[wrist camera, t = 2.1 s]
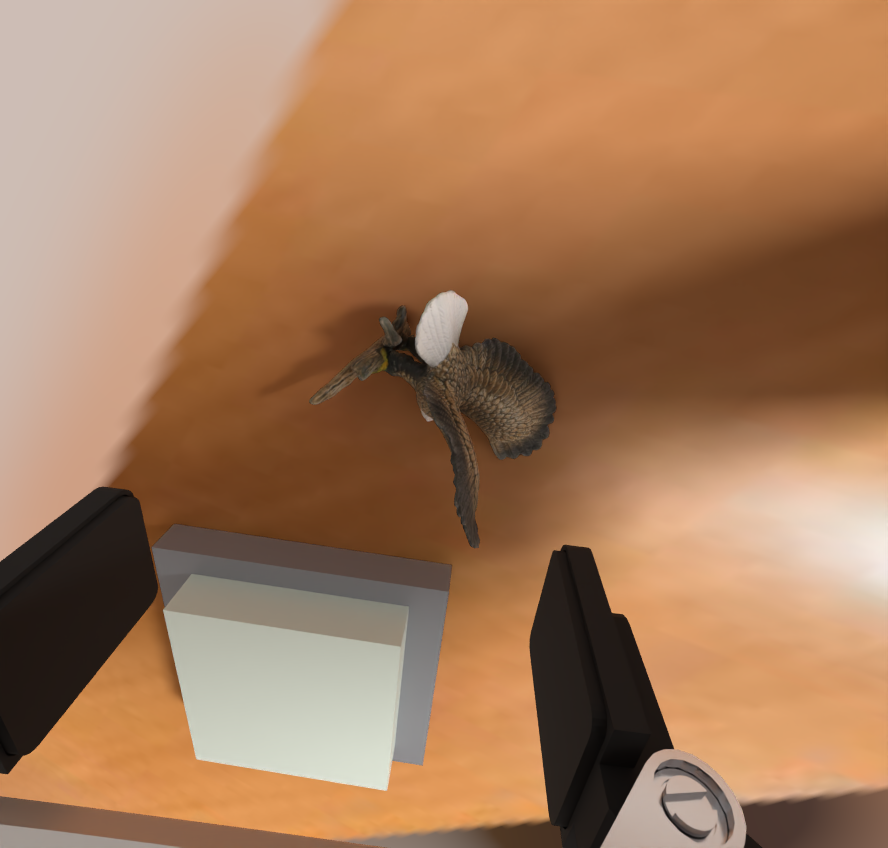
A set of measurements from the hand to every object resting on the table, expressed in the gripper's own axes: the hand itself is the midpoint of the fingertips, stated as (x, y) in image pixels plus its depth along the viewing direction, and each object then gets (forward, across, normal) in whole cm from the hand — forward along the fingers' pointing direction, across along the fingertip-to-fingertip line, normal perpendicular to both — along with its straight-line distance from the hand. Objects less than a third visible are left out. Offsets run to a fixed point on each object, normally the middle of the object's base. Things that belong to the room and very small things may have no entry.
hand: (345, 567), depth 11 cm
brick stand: (+13, +5, +19) cm, 23 cm away
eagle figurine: (+12, -2, 0) cm, 13 cm away
